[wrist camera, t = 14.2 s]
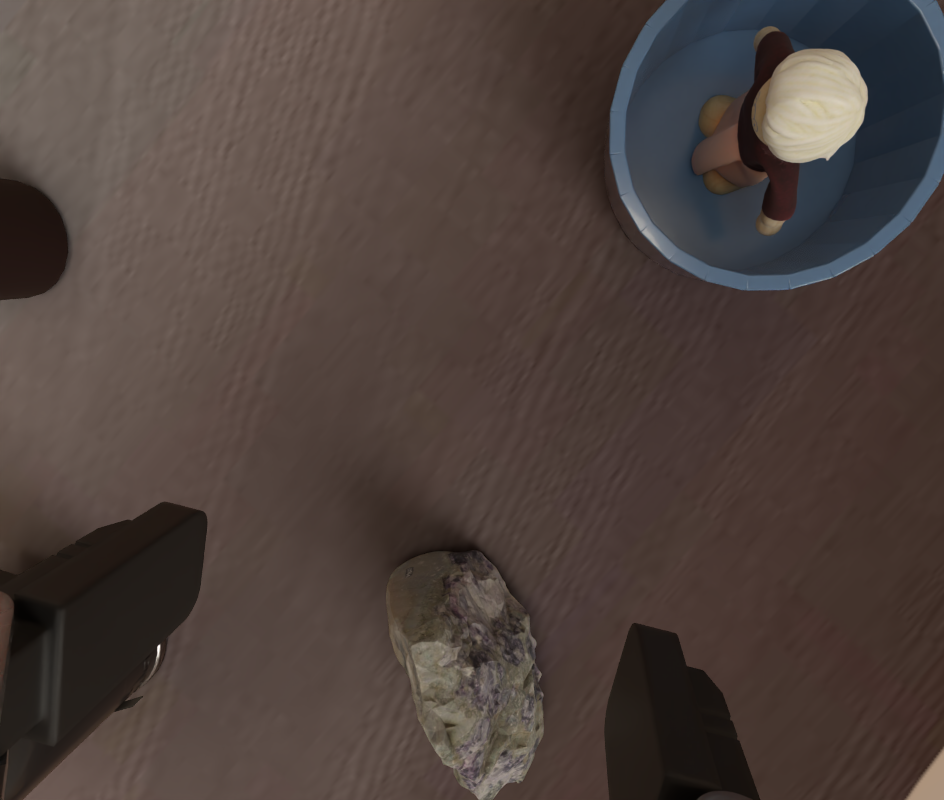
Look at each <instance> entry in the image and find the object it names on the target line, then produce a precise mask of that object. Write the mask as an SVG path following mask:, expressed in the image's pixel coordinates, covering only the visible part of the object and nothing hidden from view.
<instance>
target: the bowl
mask: <svg viewBox="0 0 944 800" xmlns="http://www.w3.org/2000/svg"><path fill="white" fill-rule="evenodd" d="M768 26H772V27H776V28H778V29H779V30H780V32H784V33H785V34H786V35H787V36H788V37H789V39H790V41H791V44H792V47H793V49H794V51H795V52H798V51H801V50H804V49H833V50H838V51H841V52H843V53H844V54H845V55H846V56H847V57H848V58H849V59H850V60H851V61H852V62H853V63H854V64H855V65H856V66H857V68H858V70H859V71H860V75H861V77H862V78H863V80H864V82H865V84H866V86H867V90H868V101H867V104H866V107H865V114H864V119H863V122H862V124H861V126H860V127H859V129H858V130H857V132H856V133H855V135H854V136H853V137H852V138H851V139H850V140H849V141H847V142H846V143H845V144H843V145H842V146H840V147H839V149H838V150H837V151H836V152H835V153H834V154H833V156H831V157H830V158H829V160H826V158H818V159H815V160H812V161H809V162H804V163H800V169H799V179H798V186H797V204H796V209H795V212H794V214H793V215H792V217H791V218H790V219H788V220H786V221H785V222H784V223H783V225H782V227H781V229H780V230H779V231H778V232H777V233H776V234H774V235H771V236H765V235H762V234H760V233H759V232H758V231H757V229H756V220H757V218H758V216H759V215H760V213H761V209H762V203H763V199H764V193H765V191H766V189H767V186H768V183H769V182H770V180H769V177H766V178H765V179H764V180H763V181H761V182H759V183H757V184H756V185H753V186H747V187H744V188H742V189H739V190H736V191H733V192H731V193H727V194H723V195H718V194H714V193H712V192H710V191H709V190H708V189H707V188H706V186H705V184H704V182H703V174H701V175H696V174H695V173H694V171H693V168H692V162H691V161H692V155H693V152H694V150H695V148H696V146H697V145H698V144H699V143H700V142H702V141H703V140H704V139H706V138H707V137H706V136H705V135H704V134H703V133H702V132H701V130H700V127H699V116H700V111H701V109H702V107H703V105H704V104H705V103H706V102H707V101H708V100H709V99H710V98H712V97H714V96H717V95H726V96H730V97H733V98H738V97H739V96H741V95H742V94H744V93H746V92H747V91H748V90H750V88H751V87H752V85H753V84H754V68H755V55H756V51H755V49H754V45H753V43H754V39H755V36H756V34H757V33H758V32H759V31H760V30H761V29H763V28H765V27H768ZM943 173H944V15H943V13H942V11H941V9H940V7H939V5H938V3H937V1H936V0H666V1H665V2H664V3H663V4H662V5H661V6H660V7H659V8H658V9H657V11H656V12H655V13H654V14H653V15H652V16H651V17H650V18H649V20H648V21H647V22H646V24H645V25H644V26H643V28H642V30H641V32H640V33H639V35H638V37H637V39H636V41H635V43H634V44H633V46H632V48H631V50H630V52H629V54H628V56H627V57H626V59H625V61H624V63H623V65H622V68H621V71H620V75H619V78H618V82H617V86H616V90H615V93H614V97H613V101H612V105H611V108H610V114H609V120H608V126H607V132H606V138H605V145H604V177H605V179H604V180H605V184H606V188H607V194H608V197H609V201H610V204H611V208H612V210H613V212H614V214H615V216H616V218H617V220H618V222H619V224H620V226H621V227H622V229H623V230H624V232H625V234H626V235H627V237H628V238H629V239H630V240H631V241H632V242H633V243H634V245H635V246H636V247H637V248H638V249H639V250H640V251H641V252H643V253H644V254H645V255H646V256H647V257H648V258H649V259H651V260H652V261H654V262H656V263H657V264H659V265H660V266H662V267H664V268H666V269H668V270H670V271H672V272H674V273H675V274H678V275H681V276H685V277H689V278H693V279H697V280H701V281H705V282H709V283H714V284H718V285H722V286H727V287H731V288H736V289H740V290H746V291H758V290H788V289H794V288H798V287H802V286H805V285H809V284H813V283H817V282H820V281H824V280H828V279H831V278H832V277H836V276H838V275H840V274H842V273H843V272H845V271H847V270H849V269H851V268H853V267H855V266H856V265H858V264H860V263H862V262H864V261H866V260H868V259H869V258H871V257H873V256H874V255H876V254H877V253H878V252H879V251H880V250H882V249H883V248H884V247H885V246H886V245H887V244H888V243H890V242H891V241H892V240H893V239H894V238H895V237H896V236H897V235H899V234H900V233H901V232H902V231H903V230H904V229H905V228H906V227H908V226H909V225H910V223H911V222H912V221H913V220H914V219H915V217H916V216H917V214H918V213H919V212H920V210H921V209H922V207H923V206H924V205H925V203H926V202H927V200H928V199H929V197H930V196H931V195H932V193H933V192H934V190H935V189H936V188H937V186H938V185H939V183H938V182H940V181H941V179H942V176H943Z"/></svg>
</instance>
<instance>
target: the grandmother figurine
mask: <svg viewBox="0 0 944 800" xmlns="http://www.w3.org/2000/svg"><path fill="white" fill-rule="evenodd" d="M753 45H754V49H755V51H756V55H755V68H754V84H753V85H752V87H751V88H750V90H748V91H747V92H746V93H744V94H742V95H741V96H739V97H738V98H733V97H730V96H726V95H717V96H714V97H712V98H710V99H709V100H708V101H707V102H706V103H705V104H704V105H703V107H702V109H701V111H700V116H699V127H700V130H701V132H702V133H703V134H704V135H705V136H706V137H707V138H706V139H704V140H703V141H702V142H700V143H699V144H698V145H697V146H696V148H695V150H694V152H693V155H692V161H691V162H692V168H693V171H694V173H695V174H696V175H701V174H703V182H704V184H705V186H706V188H707V189H708V190H709V191H710V192H712V193H714V194H718V195H723V194H727V193H731V192H733V191H736V190H739V189H742V188H744V187H747V186H753V185H756V184H757V183H759V182H761V181H763V180H764V179H765V178H766V177H769V180H770V182H769V183H768V186H767V189H766V191H765V193H764V199H763V203H762V209H761V213H760V215H759V216H758V218H757V220H756V229H757V231H758V232H759V233H760V234H762V235H765V236H771V235H774V234H776V233H777V232H778V231H779V230H780V229H781V227H782V225H783V223H784V222H785V221H786V220H788V219H790V218H791V217H792V215H793V214H794V212H795V209H796V204H797V186H798V179H799V169H800V163H804V162H809V161H812V160H815V159H818V158H826V160H829V158H830V157H831V156H833V154H834V153H835V152H836V151H837V150H838V149H839V147H840V146H842V145H843V144H845V143H846V142H847V141H849V140H850V139H851V138H852V137H853V136H854V135H855V133H856V132H857V130H858V129H859V127H860V126H861V124H862V122H863V119H864V114H865V107H866V104H867V101H868V90H867V86H866V84H865V82H864V80H863V78H862V77H861V75H860V71H859V70H858V68H857V66H856V65H855V64H854V63H853V62H852V61H851V60H850V59H849V58H848V57H847V56H846V55H845V54H844V53H843V52H841V51H838V50H833V49H804V50H801V51H798V52H795V51H794V49H793V47H792V44H791V41H790V39H789V37H788V36H787V35H786V34H785V33H784V32H780V30H779V29H778V28H776V27H772V26H768V27H765V28H763V29H761V30H760V31H759V32H758V33H757V34H756V36H755V39H754V43H753Z"/></svg>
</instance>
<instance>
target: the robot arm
mask: <svg viewBox="0 0 944 800" xmlns="http://www.w3.org/2000/svg"><path fill="white" fill-rule="evenodd" d="M206 533H207V516H206V514H205V513H204V512H203V511H200V510H196V509H192V508H189V507H185V506H181V505H177V504H173V503H169V502H162V503H160V504H158V505H156V506H155V507H153V508H152V509H150V510H148V511H147V512H145V513H143V514H142V515H140V516H139V517H137V518H135V519H134V520H132V521H131V520H125V521H121V522H118V523H115V524H111V525H108V526H104V527H101V528H98V529H96V530H95V531H93V532H91V533H89V534H88V535H86V536H84V537H83V538H81V539H79V540H78V541H76V543H75V545H74V544H71V545H69V546H67V547H66V548H64V549H62V550H61V551H59V552H58V553H57V555H56V556H54V555H52V556H50V557H49V558H47V559H45V560H44V561H42V562H40V563H38V564H37V565H35V566H33V567H32V568H30V569H28V570H27V571H25V572H23V573H22V574H20V575H15V574H12V573H9V572H6V571H3V570H0V800H23V799H24V798H25V797H26V796H27V795H28V794H29V793H30V792H31V791H32V790H33V789H34V788H35V787H36V786H37V785H38V784H39V783H40V782H41V781H42V780H44V779H45V778H46V777H47V776H48V775H49V774H50V773H51V772H52V771H53V770H54V769H55V768H56V767H57V766H58V765H59V764H60V763H61V762H62V761H63V760H64V759H65V758H66V757H67V756H68V755H69V754H70V753H71V752H72V751H73V750H75V749H76V748H77V747H78V746H79V745H80V744H81V743H82V742H83V741H84V740H85V739H86V738H87V737H88V736H89V735H90V734H91V733H92V732H93V731H94V730H95V729H96V728H97V727H98V726H99V725H100V724H101V723H102V722H103V721H105V720H106V719H107V718H108V717H109V716H110V715H111V714H112V713H113V712H116V711H119V710H123V709H126V708H130V707H133V706H134V705H135V704H136V703H137V702H138V701H139V700H140V699H141V698H142V697H143V696H142V697H138V698H135V699H131V700H128V701H125V700H126V699H127V698H128V697H129V696H130V695H131V694H132V693H133V692H135V691H136V690H137V689H139V688H140V687H142V686H143V685H144V684H145V683H146V682H147V681H148V680H149V679H150V678H151V677H152V676H153V675H154V674H155V673H156V672H157V670H158V669H159V667H160V666H161V663H162V661H163V659H164V655H165V651H166V638H167V637H168V636H169V635H170V634H171V633H172V632H173V631H174V630H175V629H176V628H177V627H178V626H179V625H180V624H181V623H182V622H184V620H185V619H186V618H187V617H188V616H189V614H190V612H191V611H192V609H193V607H194V605H195V603H196V600H197V598H198V594H199V591H200V585H201V577H202V568H203V559H204V550H205V541H206ZM730 717H731V716H730V713H729V710H728V707H727V705H726V702H725V699H724V696H723V693H722V692H721V691H720V690H719V689H718V687H717V686H716V685H715V684H714V683H713V681H712V680H711V679H710V678H709V677H708V675H707V674H706V673H705V672H704V671H703V670H700V669H696V668H692V667H688V666H686V662H685V659H684V655H683V652H682V649H681V645H680V642H679V638H678V636H677V634H676V633H672V632H668V631H665V630H661V629H657V628H653V627H649V626H645V625H641V624H637V623H633V624H632V626H631V628H630V630H629V632H628V635H627V639H626V642H625V645H624V649H623V652H622V656H621V659H620V662H619V666H618V669H617V673H616V676H615V679H614V683H613V686H612V690H611V693H610V697H609V700H608V705H607V710H606V717H605V731H604V735H605V749H606V762H607V774H608V787H609V800H760V798H759V795H758V792H757V789H756V787H755V784H754V781H753V778H752V775H751V772H750V770H749V767H748V764H747V761H746V758H745V756H744V753H743V750H742V747H741V744H740V741H739V740H737V733H736V730H735V727H734V724H733V722H732V721H730Z"/></svg>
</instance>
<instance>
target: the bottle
mask: <svg viewBox="0 0 944 800" xmlns="http://www.w3.org/2000/svg"><path fill="white" fill-rule="evenodd" d="M67 255H68V246H67V234H66V231H65V228H64V225H63V222H62V220H61V217H60V215H59V213H58V212H57V211H56V209H55V208H54V206H53V205H52V203H51V202H50V200H48V199H47V198H46V197H45V196H44V195H42V194H41V193H40V192H39V191H38V190H36V189H35V188H33V187H31V186H28V185H26V184H23V183H21V182H18V181H15V180H7V179H0V300H6V299H19V298H29V297H32V296H35V295H39V294H42V293H44V292H46V291H47V290H48V289H49V288H51V287H52V286H53V285H54V284H56V283H57V281H58V279H59V278H60V276H61V274H62V272H63V271H64V269H65V264H66V259H67Z"/></svg>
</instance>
